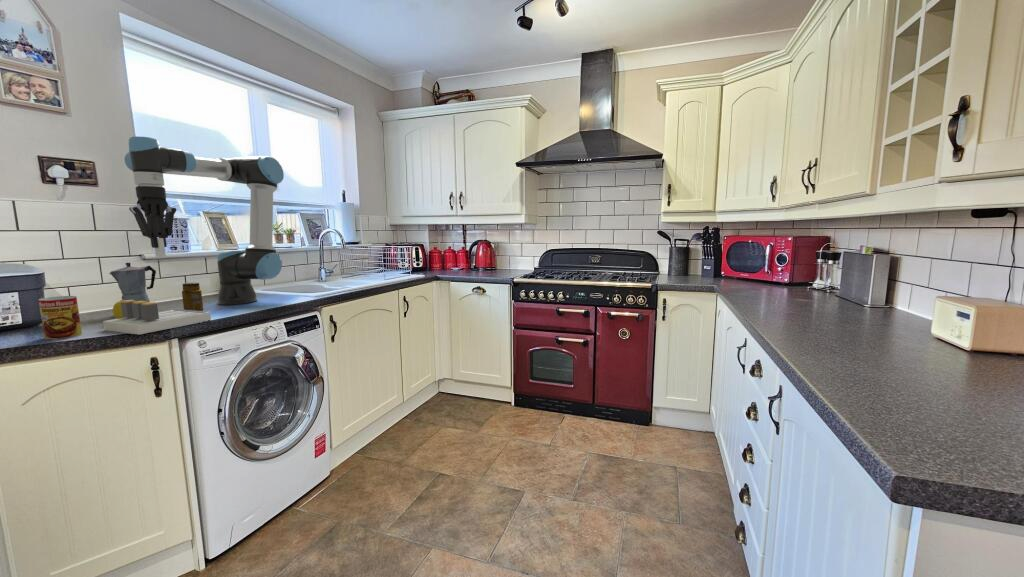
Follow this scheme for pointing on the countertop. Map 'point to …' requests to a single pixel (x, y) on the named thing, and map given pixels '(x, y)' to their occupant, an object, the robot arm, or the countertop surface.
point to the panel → (157, 321)
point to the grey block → (149, 311)
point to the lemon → (118, 310)
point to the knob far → (127, 308)
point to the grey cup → (137, 309)
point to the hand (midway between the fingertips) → (160, 257)
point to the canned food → (60, 317)
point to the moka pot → (133, 282)
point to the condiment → (192, 297)
